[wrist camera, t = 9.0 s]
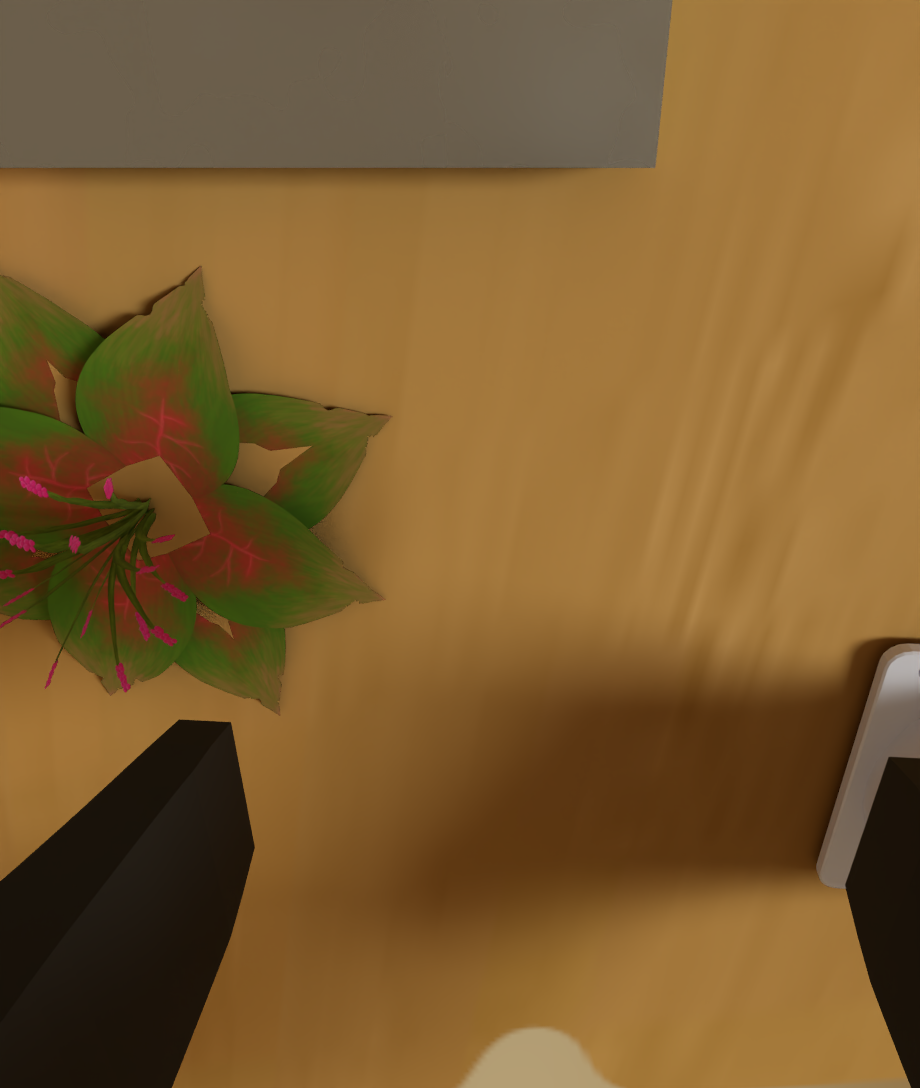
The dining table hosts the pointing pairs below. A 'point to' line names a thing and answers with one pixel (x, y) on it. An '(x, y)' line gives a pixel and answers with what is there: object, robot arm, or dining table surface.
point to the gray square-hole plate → (331, 83)
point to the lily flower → (195, 459)
